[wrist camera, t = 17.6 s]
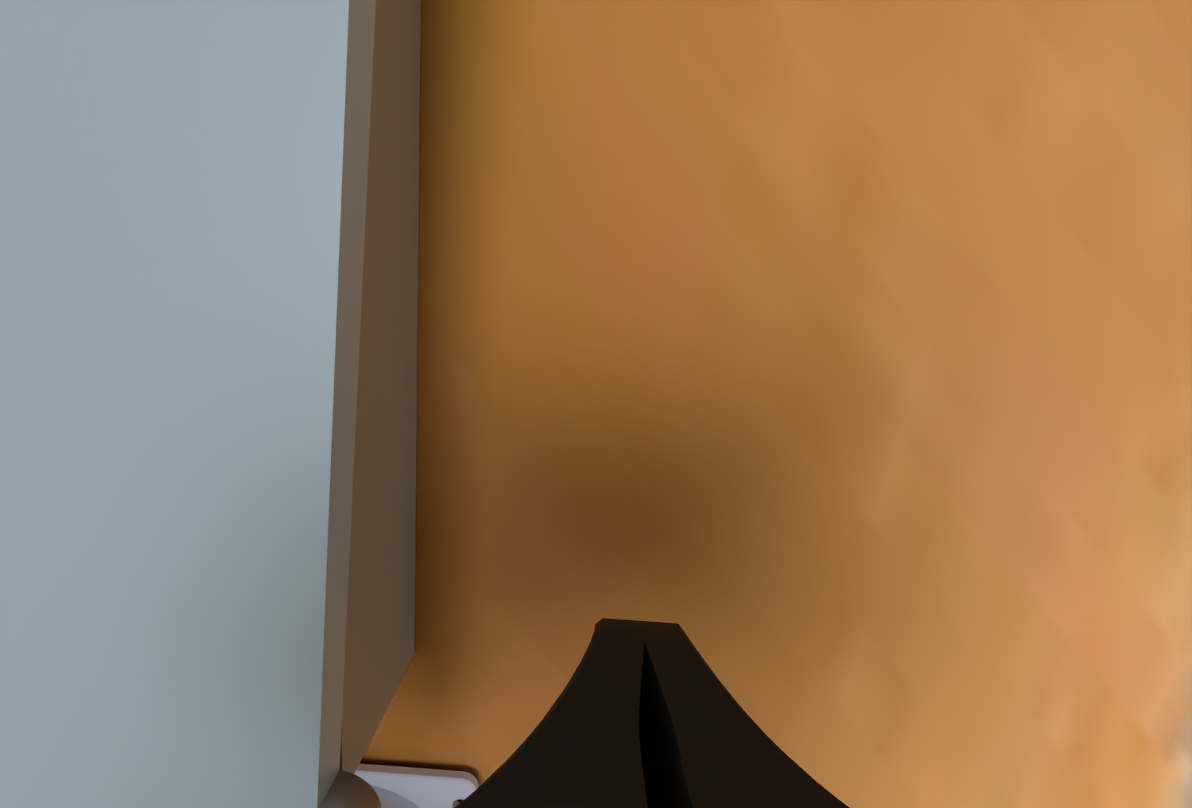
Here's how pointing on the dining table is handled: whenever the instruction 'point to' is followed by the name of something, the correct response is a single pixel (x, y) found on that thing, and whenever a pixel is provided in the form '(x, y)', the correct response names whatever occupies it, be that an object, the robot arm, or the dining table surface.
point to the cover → (179, 398)
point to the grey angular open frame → (385, 391)
